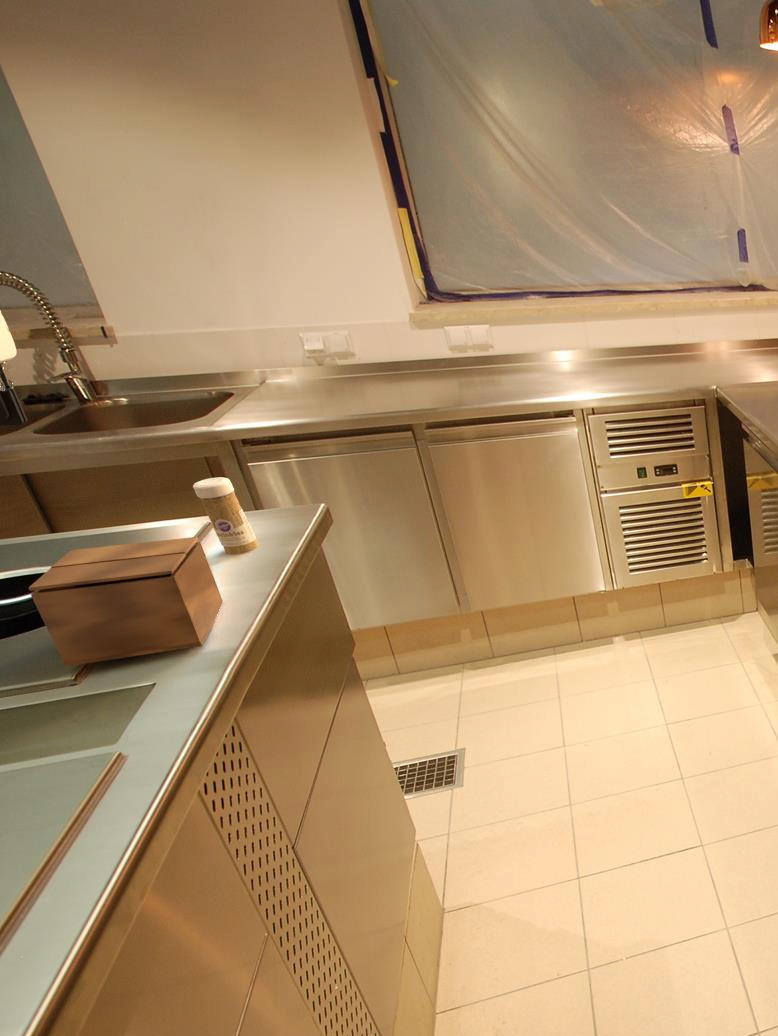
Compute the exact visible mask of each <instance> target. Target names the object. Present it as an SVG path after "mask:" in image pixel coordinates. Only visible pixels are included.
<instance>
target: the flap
mask: <svg viewBox="0 0 778 1036" xmlns="http://www.w3.org/2000/svg"><path fill="white" fill-rule="evenodd" d="M198 541H199V537H198V536H192V537H182V538H171V539H164V540H155V541H154V540H153V541H145V542H144V541H143V542H136V543H124V544H117V545H116V544H115V545H106V546H98V547H87V548H79V549H78V548H77V549H72V550H70V551H68V552H66V554H65V555H64V556H62V557H61V558H60V559H58V560H57V561H56V562H55V563H54V564H52V565H51V566H50V568H56V567H65V566H74V565H83V564H92V563H101V562H110V561H119V560H128V559H137V558H145V557H154V556H163V555H172V554H181V553H185V554H187V553H188V552H189V550H190V549H191V548H192V547H193V546H194V544H195V543H197V542H198Z"/></svg>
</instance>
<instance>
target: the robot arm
mask: <svg viewBox="0 0 778 1036" xmlns="http://www.w3.org/2000/svg"><path fill="white" fill-rule="evenodd" d="M17 352H18V351H17V347H16V343H15V341H14V339H13V336H12V333H11V331H10V329H9V326H8V324H7V322H6V319H5V317H4V316H3V313H2V311H1V310H0V427H5V426H21V425H24V424H25V423H27V422H28V417H27V415H26V413H25V410H24V408H23V406H22V404H21V402H20V399H19V397H18V393H17V392H16V389H15V386H14V382H13V378H12V376H11V373H10V371H9V370H10V368H11V363H10V361H11V360H12V359H14V358H15V357H16V356H17Z"/></svg>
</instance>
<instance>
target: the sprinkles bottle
mask: <svg viewBox="0 0 778 1036" xmlns="http://www.w3.org/2000/svg"><path fill="white" fill-rule="evenodd" d="M192 488H193V490H194V493H195V495H196V497H197V498H198V499H199V500H200V501H201V503H202V506H203V508H204V510H205V512H206V515H207V517H208V518H209V521H210V523H211V525H212V527H213V531H214V533H215V534H216V536H217V538H218V541H219V543H220V545H221V546H222V547H223V549H224V551H225V553H226V554H228V555H239V554H244V553H249V552H251V551H254V550H256V549H257V548H259V545H260V544H259V543H258V542H259V541H258V540H257V537H256V535H255V533H254V530H253V529H252V527H251V524H250V523H249V521H248V518H247V516H246V514H245V512H244V510H243V508H242V507H241V505H240V502H239V500H238V498H237V496H236V494H235V488H234V486H233V483H232V482H231V480H230V479H229V478H227V477H223V476H221V477H209V478H205V479H202V480H199V481H196V482H194V484H193V485H192Z"/></svg>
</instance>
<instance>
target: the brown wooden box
mask: <svg viewBox="0 0 778 1036" xmlns="http://www.w3.org/2000/svg"><path fill="white" fill-rule="evenodd" d="M28 590H29V591H31V592H32V591H33V592H32V593H31V594H30V596H31V598H32V600H33V602H34V604H35V606H36V609H37V610H38V613H39V615H40V617H41V619H42V621H43V624H44V626H45V627H46V629H47V631H48V633H49V635H50V638H51V640H52V641H53V644H54V646H55V648H56V651H57V652H58V654H59V656H60V658H61V660H62V662H63V665H64V667H73V666H78V665H79V666H80V665H84V664H85V665H86V664H93V663H98V662H105V661H111V660H119V659H124V658H125V659H126V658H131V657H137V656H145V655H150V654H157V653H164V652H165V653H166V652H172V651H179V650H183V649H184V650H185V649H191V648H197V647H202V646H203V644H204V643H205V641H206V640H207V638H208V635H209V634H210V632H211V631H212V628H213V627H214V625H215V623H216V621H215V619H216V620H217V618H218V616H217V614H218V615H219V613H220V611H219V609H220V610H221V608H222V605H223V603H224V600H223V598H222V595H221V592H220V590H219V588H218V585H217V582H216V579H215V576H214V574H213V571H212V569H211V566H210V564H209V561H208V558H207V556H206V553H205V550H204V548H203V545H202V543H201V542H200V541H199V542H198V541H197V542H196V543H195V544H194V546H193V547H192V548H191V549H190V550H189V552H188V553H187V554H185V553H181V554H172V555H163V556H154V557H145V558H137V559H128V560H119V561H110V562H101V563H92V564H83V565H74V566H65V567H56V568H51V567H50V568H49V569H48V570H47V571H46V572H45V573H43V574H42V575H41V576H40V577H39V578H38V579H36V581H34V582H33V583H32V584H31V585H30V586H29V587H28ZM222 602H223V603H222ZM221 604H222V605H221ZM220 607H221V608H220ZM218 612H219V613H218ZM216 617H217V618H216ZM214 622H215V623H214ZM213 624H214V625H213Z"/></svg>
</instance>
